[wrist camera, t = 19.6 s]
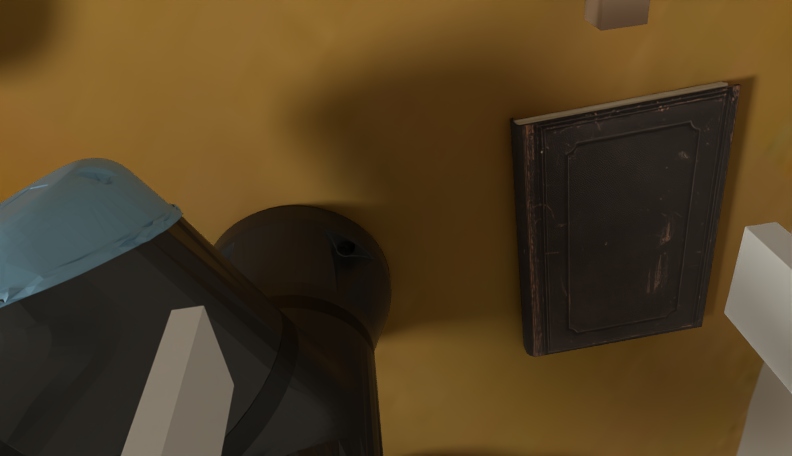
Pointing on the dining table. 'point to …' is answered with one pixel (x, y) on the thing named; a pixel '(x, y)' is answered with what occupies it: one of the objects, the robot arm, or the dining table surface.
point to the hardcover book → (619, 215)
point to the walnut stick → (616, 13)
